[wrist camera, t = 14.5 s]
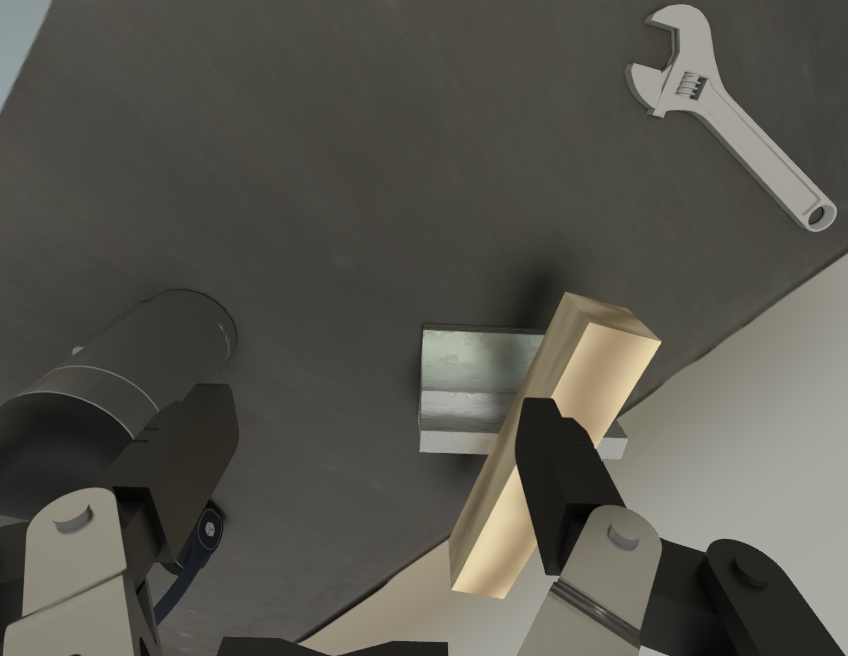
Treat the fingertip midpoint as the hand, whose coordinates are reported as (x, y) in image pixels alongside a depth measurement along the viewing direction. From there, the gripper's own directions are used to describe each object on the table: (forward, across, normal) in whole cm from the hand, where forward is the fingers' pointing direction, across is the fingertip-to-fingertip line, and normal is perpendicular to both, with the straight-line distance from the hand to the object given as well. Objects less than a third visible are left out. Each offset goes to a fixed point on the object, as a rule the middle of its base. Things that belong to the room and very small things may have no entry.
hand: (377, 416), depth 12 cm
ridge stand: (+30, -11, +18) cm, 37 cm away
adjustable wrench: (+31, -27, -7) cm, 41 cm away
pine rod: (+19, -11, +18) cm, 28 cm away
